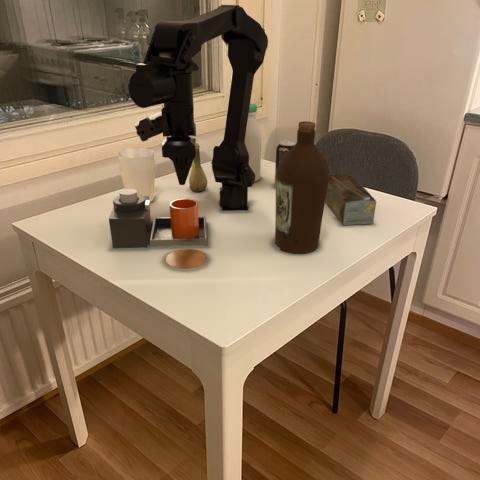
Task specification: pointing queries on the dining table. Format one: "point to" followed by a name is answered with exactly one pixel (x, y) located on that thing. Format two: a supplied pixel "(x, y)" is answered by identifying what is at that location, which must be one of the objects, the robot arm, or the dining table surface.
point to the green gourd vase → (197, 174)
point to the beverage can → (282, 151)
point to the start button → (128, 196)
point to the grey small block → (147, 205)
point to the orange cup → (184, 218)
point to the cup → (138, 170)
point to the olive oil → (301, 194)
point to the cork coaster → (186, 259)
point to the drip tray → (164, 237)
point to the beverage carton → (350, 200)
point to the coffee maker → (130, 223)
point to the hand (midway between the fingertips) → (182, 180)
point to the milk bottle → (253, 141)
